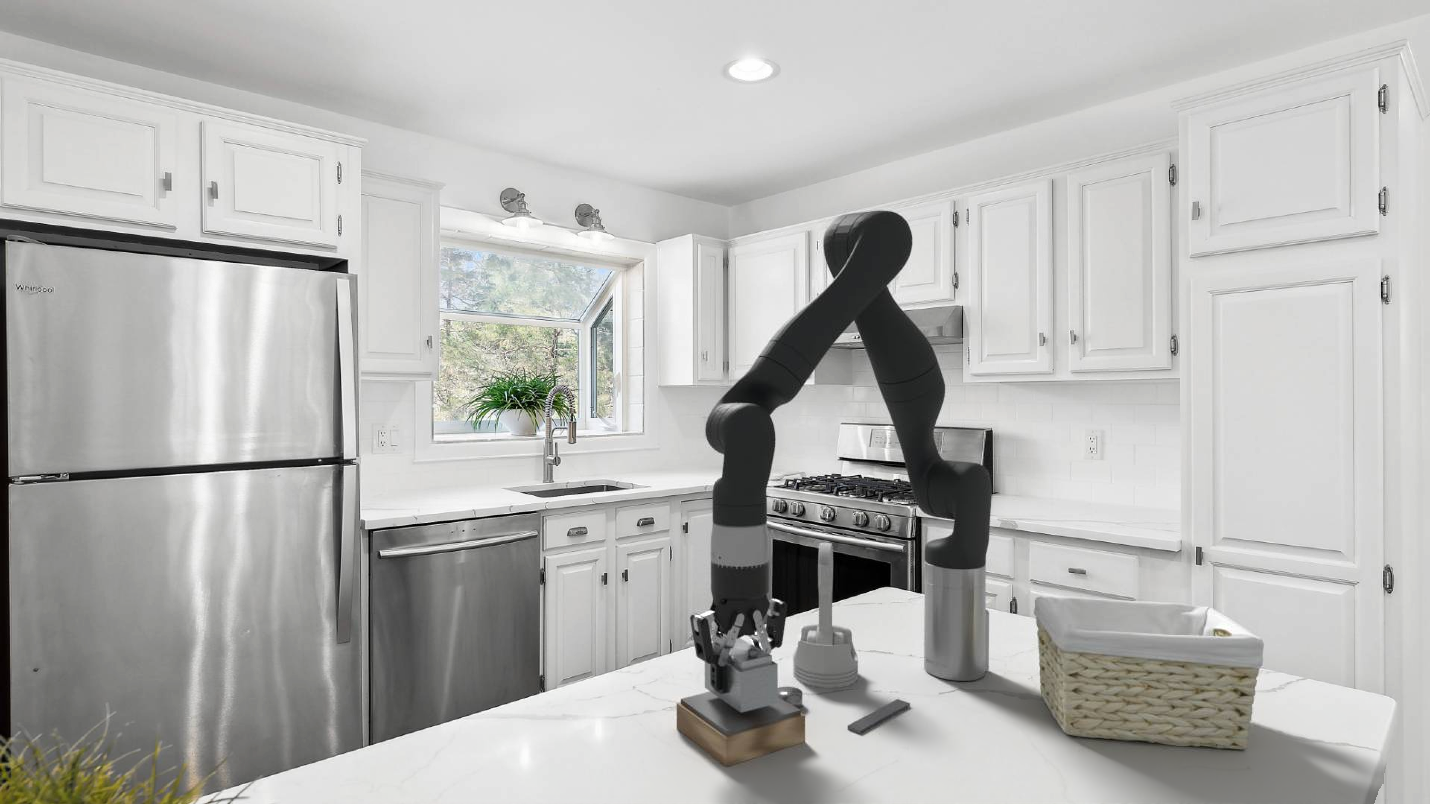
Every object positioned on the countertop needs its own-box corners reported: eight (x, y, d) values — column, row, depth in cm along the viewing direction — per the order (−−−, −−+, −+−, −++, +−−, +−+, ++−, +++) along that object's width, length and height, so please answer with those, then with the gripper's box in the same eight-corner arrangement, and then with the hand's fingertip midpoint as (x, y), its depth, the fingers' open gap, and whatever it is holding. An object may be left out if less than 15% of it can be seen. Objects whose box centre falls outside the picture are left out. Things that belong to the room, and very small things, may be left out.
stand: (751, 707, 107) (751, 679, 107) (805, 741, 97) (805, 710, 97) (676, 728, 101) (676, 698, 101) (726, 767, 91) (726, 733, 91)
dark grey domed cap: (790, 698, 111) (790, 684, 111) (808, 707, 108) (808, 693, 108) (768, 704, 109) (768, 690, 109) (785, 714, 106) (785, 700, 106)
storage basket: (1207, 704, 108) (1209, 601, 108) (1269, 760, 93) (1271, 639, 92) (1029, 693, 113) (1030, 593, 112) (1058, 744, 97) (1059, 628, 96)
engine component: (789, 685, 116) (857, 690, 114) (789, 550, 115) (857, 553, 113) (796, 659, 126) (858, 663, 124) (796, 536, 126) (858, 538, 124)
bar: (897, 706, 109) (897, 699, 109) (909, 710, 108) (909, 703, 108) (847, 733, 101) (847, 725, 101) (860, 738, 99) (860, 730, 99)
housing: (777, 703, 97) (777, 649, 96) (740, 712, 94) (740, 657, 94) (739, 679, 104) (739, 630, 104) (704, 687, 102) (704, 637, 101)
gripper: (707, 570, 92) (708, 710, 92) (801, 555, 99) (802, 684, 100) (676, 558, 98) (677, 689, 98) (767, 545, 106) (768, 666, 106)
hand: (740, 686), depth 99 cm, fingers closed on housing, 5 cm apart
